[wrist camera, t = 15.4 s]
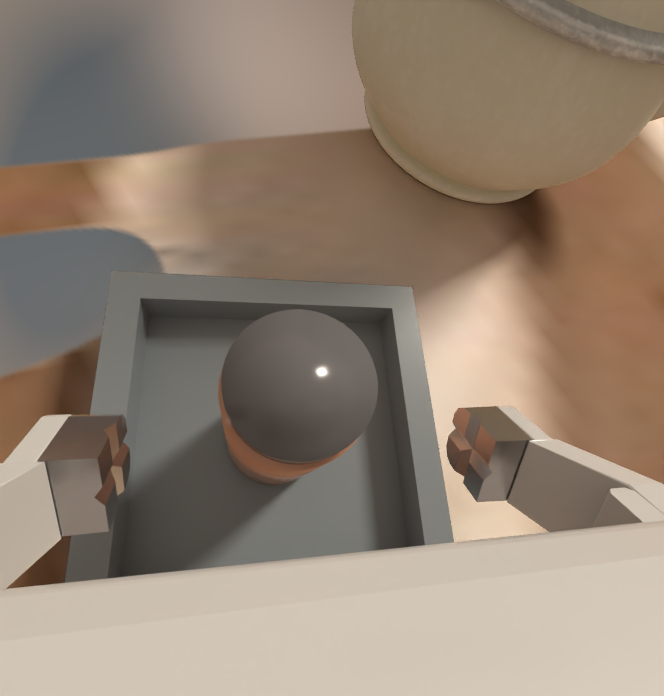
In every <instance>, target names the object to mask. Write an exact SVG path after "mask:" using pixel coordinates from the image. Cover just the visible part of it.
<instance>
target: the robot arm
mask: <svg viewBox="0 0 664 696" xmlns="http://www.w3.org/2000/svg"><path fill="white" fill-rule="evenodd" d="M452 422H453V424H454V426H455V428H456V429H455V430H454V431H453V432H452V433H451V434H450V435H449V437H448V441H447V446H446V447H447V457H448V459H449V462H450V464H451V466H452V467H453V469H454V470H455V471H456V472H458V473H459V474H461V475H463V476H464V482H463V483H464V485H465V486H466V487H467V489H468V490H469V492H470V493H471V494H472V496H473V497H474V499H475V500H476V501H477V502H485V501H505V500H508V501H507V502H508V503H509V504H511V505H512V506H514V507H515V508H516V509H518V510H519V511H521V512H522V513H523V514H525V515H526V516H528V517H529V518H530V519H532V520H533V521H535V522H536V523H537V524H539V525H540V526H542V527H543V528H544V529H546V530H547V531H549V532H548V533H538V534H528V535H519V536H509V537H499V538H490V539H480V540H470V541H461V542H451V543H441V544H432V545H422V546H412V547H403V548H394V549H384V550H375V551H365V552H356V553H346V554H337V555H328V556H318V557H309V558H299V559H290V560H280V561H270V562H261V563H251V564H241V565H232V566H222V567H213V568H203V569H193V570H184V571H174V572H164V573H155V574H145V575H136V576H126V577H116V578H107V579H97V580H88V581H78V582H68V583H59V584H49V585H39V586H30V587H20V588H11V589H6V588H7V587H8V586H9V585H10V584H12V583H13V582H14V581H15V580H16V579H17V578H18V577H19V576H20V575H22V574H23V573H24V572H25V571H26V570H27V569H28V568H29V567H31V566H32V565H33V564H34V563H35V562H36V561H37V560H38V559H39V558H41V557H42V556H43V555H44V554H45V553H46V552H47V551H48V550H49V549H51V548H52V547H53V546H54V545H55V544H56V543H57V542H58V541H59V540H61V536H71V535H80V534H89V533H99V532H108V531H109V530H110V527H111V525H112V522H113V520H114V517H115V514H116V512H117V509H118V507H119V505H118V497H117V496H118V495H119V494H121V493H122V492H123V491H124V490H125V488H126V485H127V482H128V477H129V471H130V449H129V447H128V446H127V445H126V444H125V443H124V442H123V440H124V438H125V435H126V433H127V425H126V419H125V417H124V416H123V414H93V415H71V414H65V415H46V416H42V417H41V418H40V419H39V420H38V422H37V423H36V424H35V425H34V426H33V428H32V429H31V430H30V431H29V432H28V434H27V435H26V436H25V437H24V438H23V440H22V441H21V442H20V443H19V444H18V446H17V447H16V448H15V449H14V450H13V452H12V453H11V454H10V455H9V456H8V458H7V459H6V460H5V461H4V462H3V463H0V696H664V485H663V484H662V483H659V482H657V481H655V480H652V479H650V478H648V477H645V476H643V475H640V474H638V473H636V472H633V471H631V470H629V469H626V468H624V467H621V466H619V465H617V464H614V463H612V462H610V461H607V460H605V459H602V458H600V457H598V456H595V455H593V454H591V453H588V452H586V451H584V450H581V449H579V448H576V447H574V446H572V445H569V444H567V443H565V442H562V441H560V440H557V439H555V440H552V439H551V438H550V437H549V436H547V435H546V434H545V433H544V432H543V431H542V430H540V429H539V428H538V427H537V426H536V425H535V424H534V423H532V422H531V421H530V420H529V419H528V418H527V417H525V416H524V415H523V414H522V413H521V412H520V411H519V410H517V409H516V408H515V407H512V406H509V405H507V406H492V407H473V408H458V409H457V411H456V412H455V414H454V418H453V421H452Z"/></svg>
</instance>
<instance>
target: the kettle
mask: <svg viewBox="0 0 664 696" xmlns="http://www.w3.org/2000/svg"><path fill="white" fill-rule="evenodd" d="M352 38H353V48H354V54H355V59H356V64H357V68H358V71H359V74H360V77H361V80H362V83H363V85H364V88H365V109H366V114H367V118H368V121H369V124H370V126H371V129H372V131H373V133H374V135H375V137H376V138H377V140H378V141H379V143H380V144H381V146H382V147H383V149H384V150H385V151H386V152H387V154H388V155H389V156H390V157H391V158H392V159H393V160H394V161H395V162H396V163H397V164H398V165H399V166H400V167H401V168H402V169H404V170H405V171H406V172H407V173H409V174H410V175H411V176H413V177H414V178H416V179H417V180H418V181H420V182H422V183H423V184H425V185H427V186H429V187H430V188H432V189H434V190H436V191H439V192H441V193H443V194H446V195H448V196H451V197H454V198H457V199H461V200H465V201H470V202H476V203H487V204H491V203H504V202H510V201H513V200H517V199H520V198H522V197H524V196H526V195H528V194H530V193H531V192H533V191H534V190H535V189H542V188H548V187H553V186H557V185H561V184H565V183H568V182H571V181H574V180H576V179H579V178H581V177H583V176H585V175H587V174H589V173H591V172H593V171H594V170H596V169H598V168H599V167H601V166H602V165H604V164H605V163H607V162H608V161H609V160H611V159H612V158H613V157H614V156H616V155H617V154H618V153H619V152H620V151H622V150H623V149H624V148H625V147H626V146H627V145H628V144H629V143H630V142H631V141H632V140H633V139H634V138H635V137H636V136H637V135H638V134H639V132H640V131H641V130H642V129H643V128H644V127H645V126H646V124H647V123H648V122H649V121H652V120H655V119H658V118H661V117H664V0H355V1H354V7H353V15H352Z"/></svg>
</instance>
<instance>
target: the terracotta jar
mask: <svg viewBox="0 0 664 696" xmlns="http://www.w3.org/2000/svg"><path fill="white" fill-rule="evenodd" d="M218 396H219V405H220V410H221V416H222V422H223V427H224V433H225V438H226V444H227V449H228V453H229V456H230V458H231V460H232V462H233V464H234V465H235V467H236V468H237V469H238V470H239V471H240V472H241V473H242V474H243V475H244V476H246V477H247V478H249V479H250V480H252V481H255V482H257V483H260V484H265V485H281V484H285V483H289V482H291V481H294V480H296V479H298V478H300V477H302V476H304V475H305V474H307V473H309V472H311V471H313V470H315V469H317V468H319V467H321V466H323V465H325V464H327V463H329V462H331V461H333V460H334V459H336V458H338V457H339V456H341V455H342V454H344V453H345V452H346V451H347V450H349V449H350V447H351V446H352V445H353V444H354V443H355V442H356V441H357V439H358V438H359V437H360V435H361V434H362V433H363V431H364V430H365V428H366V427H367V426H368V424H369V422H370V420H371V418H372V416H373V413H374V410H375V407H376V402H377V396H378V379H377V374H376V369H375V366H374V363H373V360H372V358H371V356H370V353H369V351H368V350H367V348H366V347H365V345H364V344H363V342H362V341H361V340H360V338H359V337H358V336H357V335H356V334H355V333H354V332H353V331H352V330H351V329H349V328H348V327H347V326H346V325H344V324H343V323H341V322H340V321H338V320H336V319H334V318H332V317H330V316H328V315H325V314H322V313H319V312H315V311H311V310H302V309H291V310H283V311H278V312H275V313H271V314H269V315H266V316H264V317H262V318H260V319H258V320H256V321H255V322H253V323H252V324H250V325H249V326H248V327H246V328H245V329H244V330H243V331H242V332H241V333H240V334H239V336H238V337H237V338H236V339H235V341H234V342H233V344H232V345H231V347H230V349H229V351H228V353H227V356H226V358H225V361H224V365H223V368H222V371H221V375H220V379H219V387H218Z"/></svg>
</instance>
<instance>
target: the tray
mask: <svg viewBox="0 0 664 696" xmlns="http://www.w3.org/2000/svg"><path fill="white" fill-rule="evenodd" d="M291 309H302V310H311V311H315V312H319V313H322V314H325V315H328V316H330V317H332V318H334V319H336V320H338V321H340V322H341V323H343V324H344V325H346V326H347V327H348V328H349V329H351V330H352V331H353V332H354V333H355V334H356V335H357V336H358V337H359V338H360V340H361V341H362V342H363V344H364V345H365V347H366V348H367V350H368V351H369V353H370V356H371V358H372V360H373V363H374V366H375V369H376V374H377V379H378V396H377V402H376V407H375V410H374V413H373V416H372V418H371V420H370V422H369V424H368V426H367V427H366V428H365V430H364V431H363V433H362V434H361V435H360V437H359V438H358V439H357V441H356V442H355V443H354V444H353V445H352V446H351V447H350V449H349V450H347V451H346V452H345V453H344V454H342V455H341V456H339V457H338V458H336V459H334V460H333V461H331V462H329V463H327V464H325V465H323V466H321V467H319V468H317V469H315V470H313V471H311V472H309V473H307V474H305V475H304V476H302V477H300V478H298V479H296V480H294V481H291V482H289V483H285V484H281V485H265V484H260V483H257V482H255V481H252V480H250V479H249V478H247V477H246V476H244V475H243V474H242V473H241V472H240V471H239V470H238V469H237V468H236V467H235V465H234V464H233V462H232V460H231V458H230V456H229V453H228V449H227V444H226V438H225V433H224V427H223V422H222V416H221V410H220V405H219V396H218V387H219V379H220V375H221V371H222V368H223V365H224V361H225V358H226V356H227V353H228V351H229V349H230V347H231V345H232V344H233V342H234V341H235V339H236V338H237V337H238V336H239V334H240V333H241V332H242V331H243V330H244V329H245V328H246V327H248V326H249V325H250V324H252V323H253V322H255V321H256V320H258V319H260V318H262V317H264V316H266V315H269V314H271V313H275V312H278V311H283V310H291ZM93 414H123V416H124V417H125V419H126V425H127V433H126V435H125V438H124V440H123V442H124V443H125V444H126V445H127V446H128V447H129V449H130V471H129V477H128V482H127V485H126V488H125V490H124V491H123V492H122V493H121V494H119V495H118V496H117V497H118V505H119V507H118V509H117V512H116V514H115V517H114V520H113V522H112V525H111V527H110V530H109V531H108V532H99V533H89V534H80V535H71V542H70V549H69V555H68V562H67V569H66V575H65V582H64V583H68V582H78V581H88V580H97V579H107V578H116V577H126V576H136V575H145V574H155V573H164V572H174V571H184V570H193V569H203V568H213V567H222V566H232V565H241V564H251V563H261V562H270V561H280V560H290V559H299V558H309V557H318V556H328V555H337V554H346V553H356V552H365V551H375V550H384V549H394V548H403V547H412V546H422V545H432V544H441V543H451V542H454V539H453V533H452V527H451V521H450V515H449V509H448V503H447V496H446V490H445V484H444V478H443V472H442V466H441V460H440V453H439V447H438V441H437V435H436V429H435V423H434V417H433V411H432V404H431V398H430V392H429V386H428V380H427V374H426V368H425V361H424V355H423V349H422V343H421V337H420V331H419V325H418V319H417V312H416V306H415V300H414V294H413V288H412V287H407V286H388V285H370V284H351V283H332V282H314V281H295V280H276V279H258V278H239V277H220V276H201V275H183V274H164V273H144V272H127V271H125V272H124V271H111V277H110V283H109V291H108V296H107V304H106V310H105V317H104V323H103V330H102V336H101V343H100V350H99V356H98V363H97V369H96V376H95V383H94V389H93V396H92V403H91V409H90V415H93Z"/></svg>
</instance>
